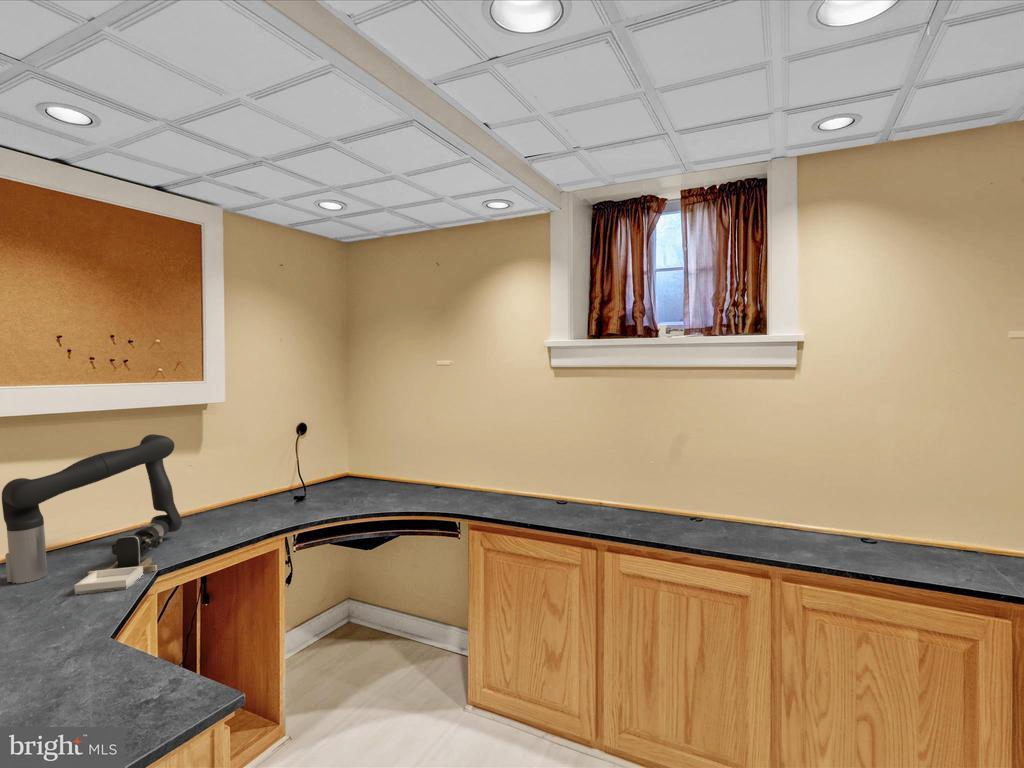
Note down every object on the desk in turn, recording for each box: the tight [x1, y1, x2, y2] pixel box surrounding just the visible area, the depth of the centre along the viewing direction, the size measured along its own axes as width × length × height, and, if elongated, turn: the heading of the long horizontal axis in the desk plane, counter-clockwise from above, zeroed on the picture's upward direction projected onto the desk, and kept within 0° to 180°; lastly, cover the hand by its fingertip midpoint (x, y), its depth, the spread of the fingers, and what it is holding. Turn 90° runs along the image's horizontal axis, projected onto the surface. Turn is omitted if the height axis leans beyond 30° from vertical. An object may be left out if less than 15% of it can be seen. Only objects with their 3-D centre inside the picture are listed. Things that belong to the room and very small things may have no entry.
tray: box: [73, 566, 144, 596], centre depth 176 cm, size 14×12×3 cm
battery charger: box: [115, 534, 142, 568], centre depth 190 cm, size 7×4×11 cm, turn 100°
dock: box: [87, 557, 158, 576], centre depth 188 cm, size 20×10×2 cm, turn 102°
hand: (128, 550), depth 189 cm, fingers open, 8 cm apart
